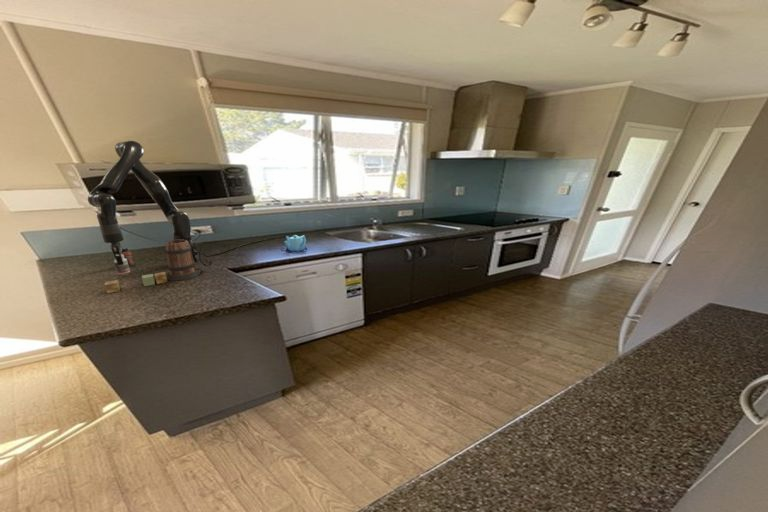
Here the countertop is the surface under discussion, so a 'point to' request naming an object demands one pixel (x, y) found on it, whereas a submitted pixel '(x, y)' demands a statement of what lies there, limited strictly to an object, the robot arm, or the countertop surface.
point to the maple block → (160, 277)
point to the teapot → (295, 243)
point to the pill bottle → (122, 266)
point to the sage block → (148, 280)
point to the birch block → (112, 286)
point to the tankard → (182, 260)
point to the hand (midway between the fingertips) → (121, 263)
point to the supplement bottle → (127, 256)
